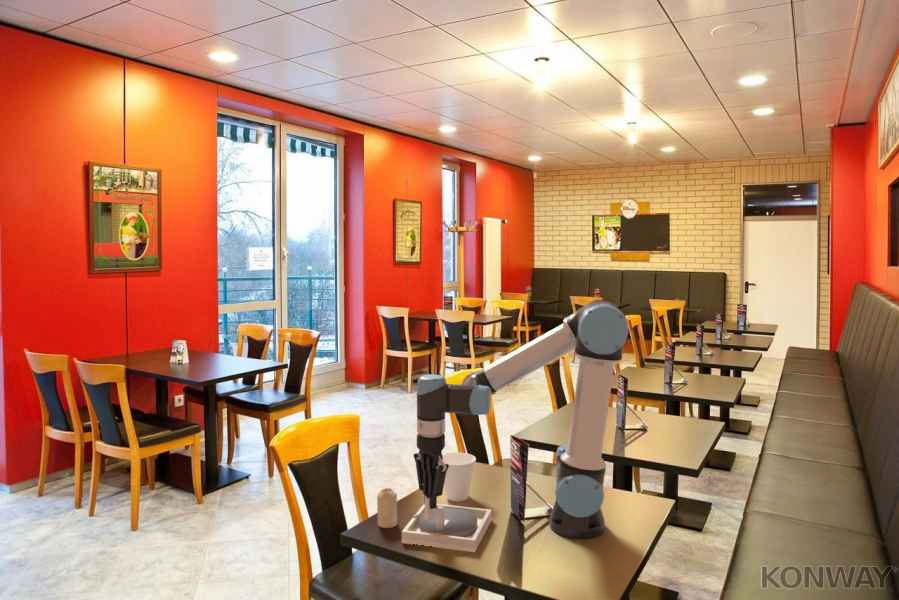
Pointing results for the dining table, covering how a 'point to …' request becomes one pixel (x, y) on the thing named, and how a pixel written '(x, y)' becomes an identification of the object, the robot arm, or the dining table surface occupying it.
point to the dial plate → (470, 543)
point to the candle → (387, 508)
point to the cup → (458, 475)
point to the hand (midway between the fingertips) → (430, 518)
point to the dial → (450, 522)
